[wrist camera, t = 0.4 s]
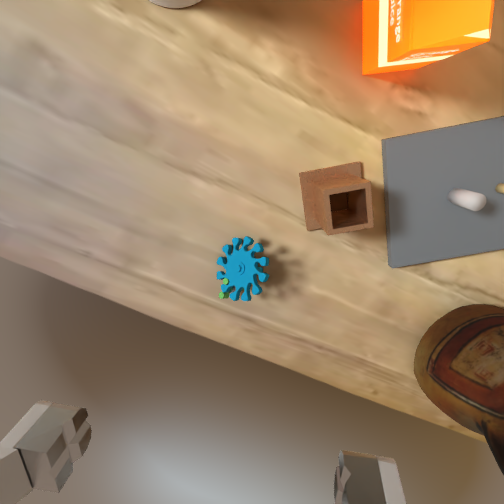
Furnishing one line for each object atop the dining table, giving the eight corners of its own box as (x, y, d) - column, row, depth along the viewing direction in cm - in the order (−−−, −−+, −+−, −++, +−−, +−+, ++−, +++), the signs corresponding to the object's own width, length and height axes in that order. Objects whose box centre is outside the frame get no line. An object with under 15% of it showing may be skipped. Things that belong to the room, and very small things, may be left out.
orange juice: (361, 75, 46) (440, 35, 27) (361, -1, 43) (450, -105, 24) (418, 69, 46) (538, 23, 27) (422, -8, 43) (559, -119, 24)
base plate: (381, 139, 49) (400, 140, 43) (521, 112, 48) (561, 109, 42) (388, 264, 56) (405, 281, 49) (511, 243, 55) (545, 257, 48)
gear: (239, 222, 51) (276, 269, 46) (262, 227, 56) (297, 271, 51) (200, 271, 55) (230, 320, 51) (225, 273, 60) (254, 317, 55)
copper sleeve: (299, 172, 50) (309, 180, 42) (358, 161, 50) (381, 167, 41) (306, 229, 53) (318, 247, 45) (363, 219, 53) (385, 235, 44)
